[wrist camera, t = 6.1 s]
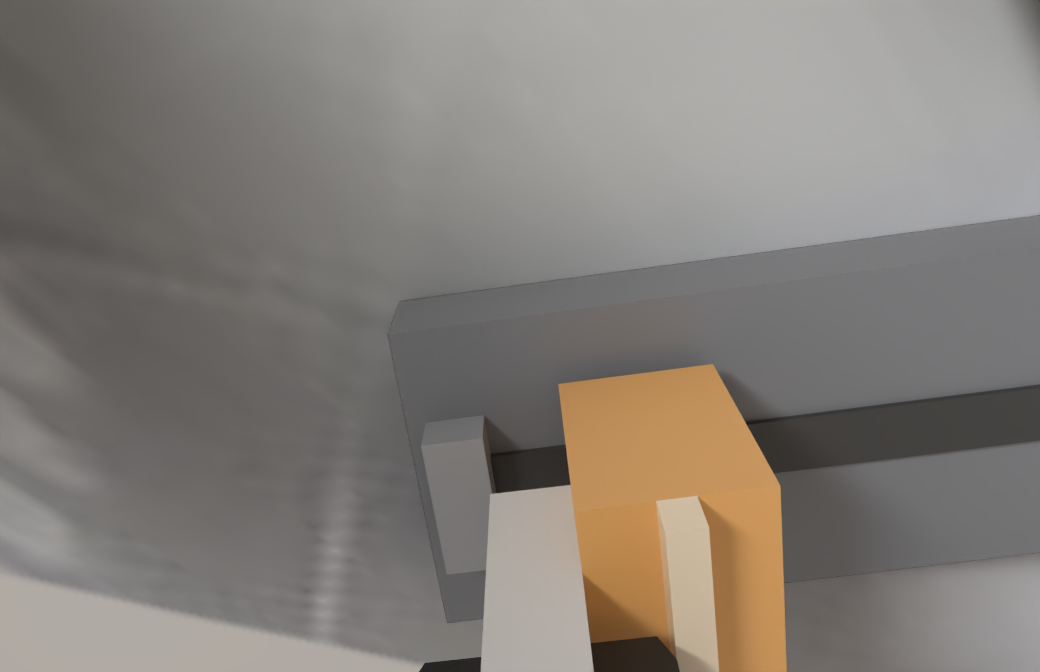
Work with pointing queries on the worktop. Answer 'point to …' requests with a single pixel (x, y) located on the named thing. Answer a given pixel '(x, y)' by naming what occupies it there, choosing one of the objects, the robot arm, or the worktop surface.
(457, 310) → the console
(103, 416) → the worktop surface
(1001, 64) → the worktop surface
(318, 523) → the worktop surface
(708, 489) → the slider
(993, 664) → the worktop surface
